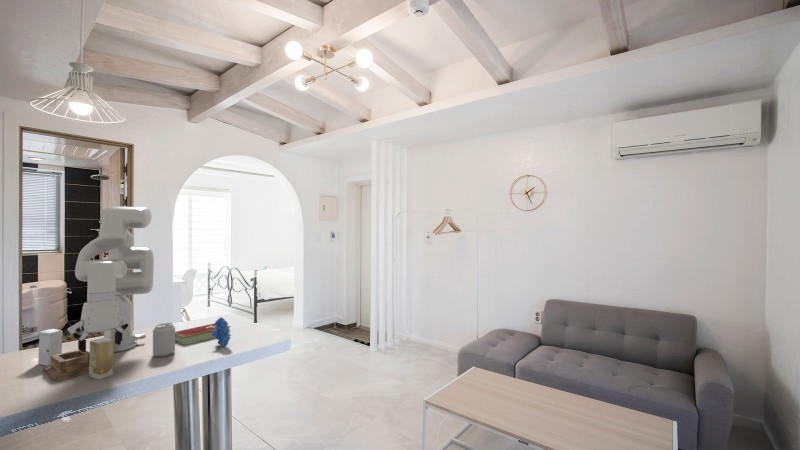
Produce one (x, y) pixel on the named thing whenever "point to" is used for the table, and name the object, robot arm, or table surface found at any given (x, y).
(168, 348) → the can
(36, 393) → the table surface
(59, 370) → the slotted stand
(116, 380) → the table surface
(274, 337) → the table surface
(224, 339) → the grapes
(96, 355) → the skincare box
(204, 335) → the hardcover book
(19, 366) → the table surface
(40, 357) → the skincare box
